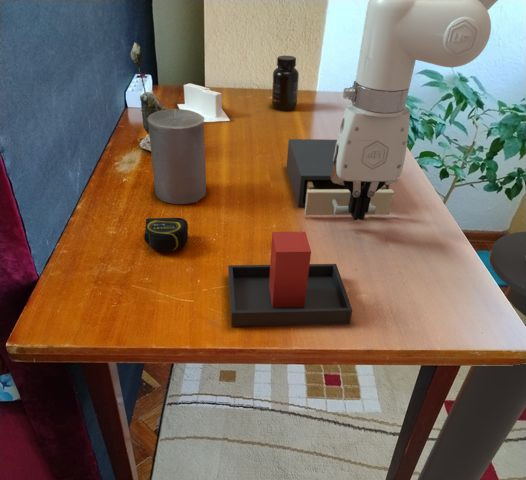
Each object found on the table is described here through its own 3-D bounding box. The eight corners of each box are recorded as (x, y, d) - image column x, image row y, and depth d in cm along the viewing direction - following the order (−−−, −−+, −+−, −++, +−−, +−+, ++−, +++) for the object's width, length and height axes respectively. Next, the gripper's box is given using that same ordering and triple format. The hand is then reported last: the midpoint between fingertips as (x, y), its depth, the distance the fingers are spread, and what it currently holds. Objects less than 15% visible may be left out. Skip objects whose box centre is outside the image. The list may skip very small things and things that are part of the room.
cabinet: (384, 207, 93) (391, 175, 88) (298, 207, 91) (301, 175, 87) (362, 168, 105) (367, 139, 101) (286, 168, 104) (288, 139, 100)
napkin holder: (176, 104, 131) (174, 80, 127) (217, 102, 134) (217, 79, 130) (186, 123, 121) (185, 98, 117) (231, 120, 124) (231, 96, 120)
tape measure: (188, 234, 82) (187, 213, 80) (188, 256, 77) (186, 235, 75) (147, 234, 82) (144, 214, 79) (144, 256, 77) (141, 235, 74)
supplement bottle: (287, 102, 137) (290, 53, 129) (301, 109, 133) (305, 59, 124) (266, 105, 134) (268, 55, 126) (280, 112, 130) (283, 61, 122)
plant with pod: (138, 159, 104) (124, 51, 90) (139, 139, 112) (126, 38, 98) (177, 158, 105) (168, 52, 91) (175, 138, 113) (166, 38, 100)
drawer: (395, 226, 85) (401, 203, 83) (309, 226, 84) (311, 203, 81) (367, 176, 100) (371, 155, 98) (293, 175, 99) (294, 154, 96)
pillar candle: (151, 185, 95) (141, 102, 85) (200, 180, 98) (196, 99, 88) (161, 208, 89) (151, 121, 78) (213, 201, 91) (210, 117, 81)
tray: (334, 276, 75) (336, 263, 73) (349, 323, 67) (352, 310, 65) (228, 278, 73) (228, 265, 72) (231, 327, 65) (231, 313, 64)
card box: (299, 286, 72) (305, 231, 66) (304, 307, 68) (311, 251, 62) (268, 286, 71) (272, 231, 65) (272, 308, 68) (276, 251, 62)
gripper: (333, 105, 66) (316, 227, 78) (439, 107, 67) (406, 227, 80) (323, 88, 71) (309, 205, 84) (421, 91, 73) (393, 205, 85)
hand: (356, 216), depth 82 cm, fingers closed
